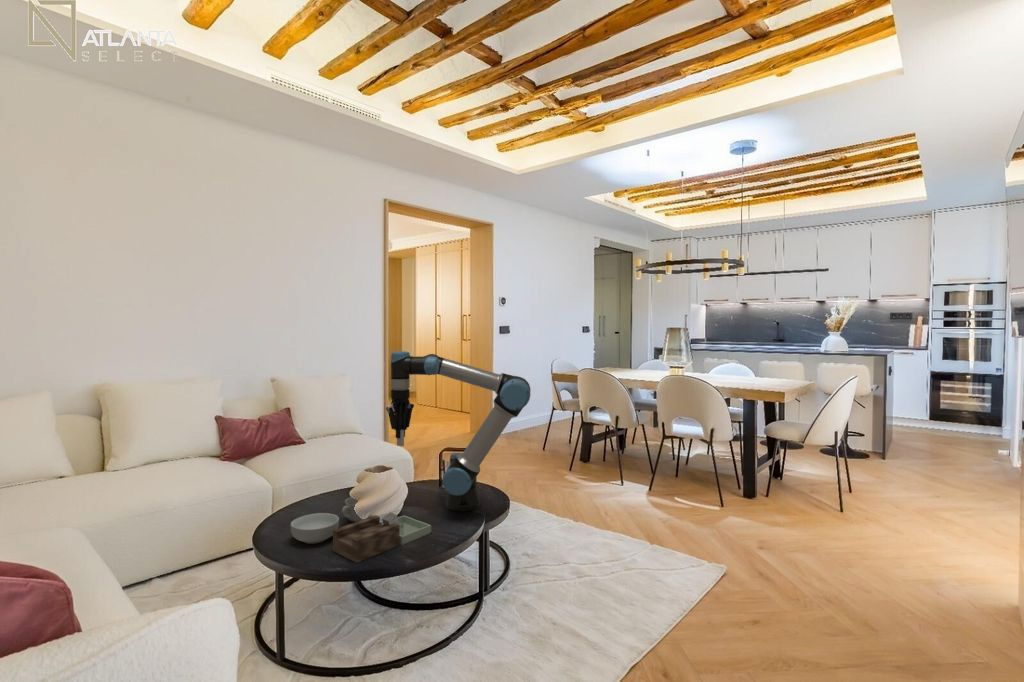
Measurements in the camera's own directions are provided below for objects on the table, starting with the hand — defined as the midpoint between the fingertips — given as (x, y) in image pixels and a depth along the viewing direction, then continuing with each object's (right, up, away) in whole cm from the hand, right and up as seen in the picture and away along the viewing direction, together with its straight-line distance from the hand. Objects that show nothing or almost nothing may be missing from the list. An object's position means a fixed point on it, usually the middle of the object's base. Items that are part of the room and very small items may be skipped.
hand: (400, 445), depth 214 cm
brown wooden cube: (+1, -26, -21) cm, 33 cm away
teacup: (-17, -30, -4) cm, 35 cm away
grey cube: (+1, -28, -21) cm, 35 cm away
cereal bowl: (-27, -30, -22) cm, 46 cm away
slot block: (-6, -31, -30) cm, 43 cm away
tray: (+5, -30, -17) cm, 35 cm away
